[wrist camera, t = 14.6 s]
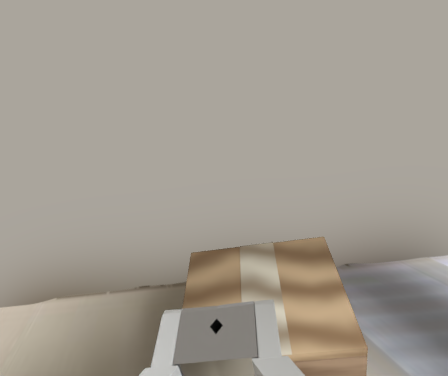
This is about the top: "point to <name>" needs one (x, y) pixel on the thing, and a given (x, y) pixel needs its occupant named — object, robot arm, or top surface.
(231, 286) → the lid
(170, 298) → the top surface
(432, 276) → the top surface
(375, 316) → the top surface
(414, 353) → the top surface
